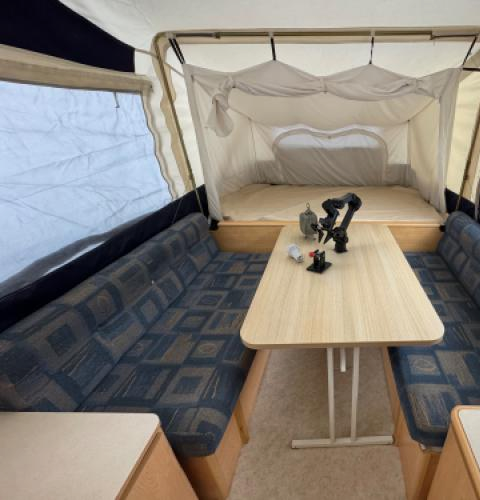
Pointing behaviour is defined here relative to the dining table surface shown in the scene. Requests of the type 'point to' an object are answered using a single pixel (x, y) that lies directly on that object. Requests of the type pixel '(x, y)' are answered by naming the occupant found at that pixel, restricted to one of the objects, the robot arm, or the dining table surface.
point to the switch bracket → (319, 263)
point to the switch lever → (314, 254)
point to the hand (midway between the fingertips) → (321, 243)
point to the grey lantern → (307, 222)
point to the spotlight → (294, 252)
